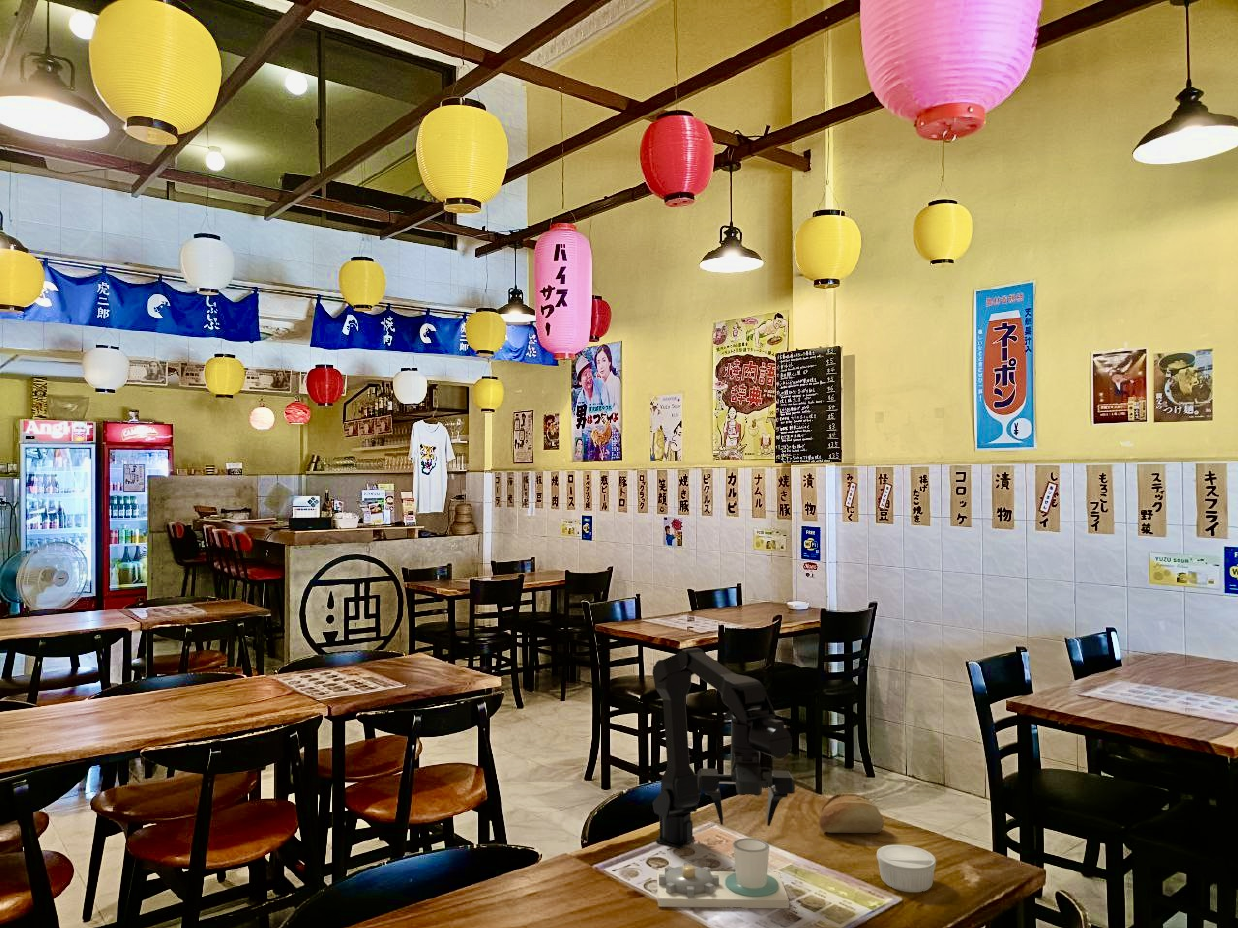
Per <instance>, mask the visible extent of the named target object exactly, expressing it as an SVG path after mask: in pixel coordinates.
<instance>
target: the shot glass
mask: <svg viewBox="0 0 1238 928" xmlns="http://www.w3.org/2000/svg"><path fill="white" fill-rule="evenodd" d="M732 845H733V856H734V866H735V872H736V879H737V883H738V884H739V885H740V886H742V887H745V888H750V889H757V888H762V887H764V886H765V885H766V883H767V872H768V868H769V853H770V845H769V843H768V842H766V841H765V840H761V839H758V838H757V839H756V838H750V837H749V838H739V839H737V840H735V841H734V842H733V844H732Z"/></svg>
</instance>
